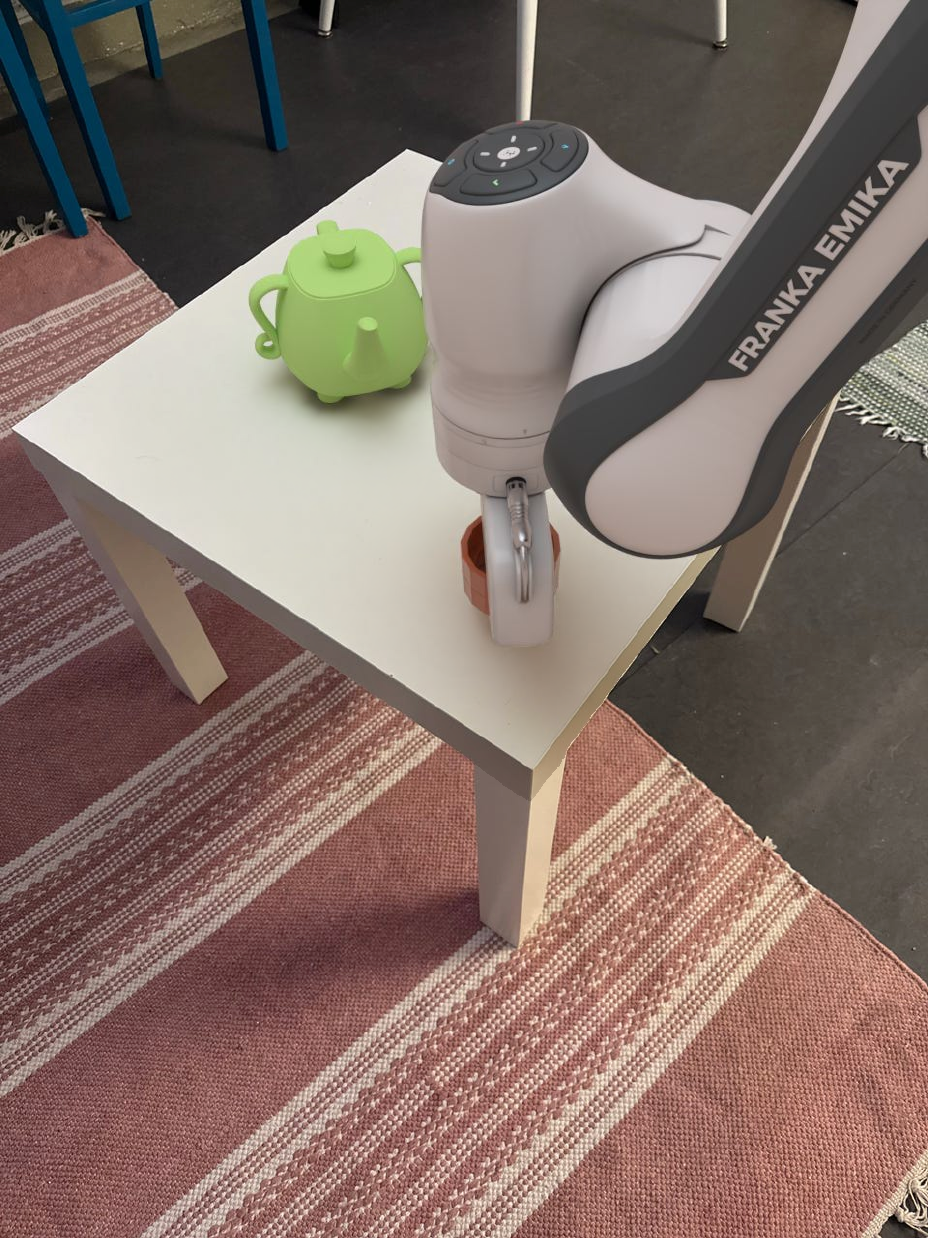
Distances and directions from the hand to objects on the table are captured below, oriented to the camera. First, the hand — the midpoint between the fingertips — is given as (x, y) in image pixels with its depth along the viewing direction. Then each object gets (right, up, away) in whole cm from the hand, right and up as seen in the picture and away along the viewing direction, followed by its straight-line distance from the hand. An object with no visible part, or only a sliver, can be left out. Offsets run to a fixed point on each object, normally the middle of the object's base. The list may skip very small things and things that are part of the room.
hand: (509, 569), depth 64 cm
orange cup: (0, -1, +1) cm, 2 cm away
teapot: (-13, +19, +20) cm, 31 cm away
